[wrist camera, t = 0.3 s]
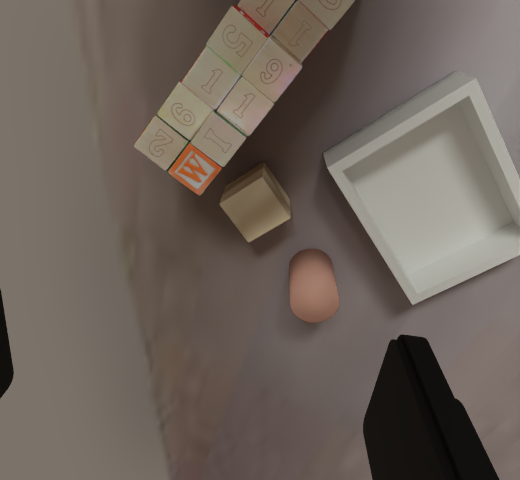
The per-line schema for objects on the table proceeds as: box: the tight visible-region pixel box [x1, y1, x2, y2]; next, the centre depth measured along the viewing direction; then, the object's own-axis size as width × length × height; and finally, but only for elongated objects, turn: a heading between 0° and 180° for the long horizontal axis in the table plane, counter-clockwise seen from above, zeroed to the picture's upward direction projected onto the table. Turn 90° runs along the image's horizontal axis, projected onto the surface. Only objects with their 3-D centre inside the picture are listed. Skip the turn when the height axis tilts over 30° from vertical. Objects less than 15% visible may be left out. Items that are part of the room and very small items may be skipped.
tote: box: [323, 71, 520, 305], centre depth 43 cm, size 18×14×5 cm
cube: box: [219, 162, 291, 243], centre depth 44 cm, size 5×5×5 cm
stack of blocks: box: [134, 0, 355, 196], centre depth 34 cm, size 21×6×12 cm, turn 140°
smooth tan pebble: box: [289, 249, 339, 323], centre depth 47 cm, size 5×5×7 cm
